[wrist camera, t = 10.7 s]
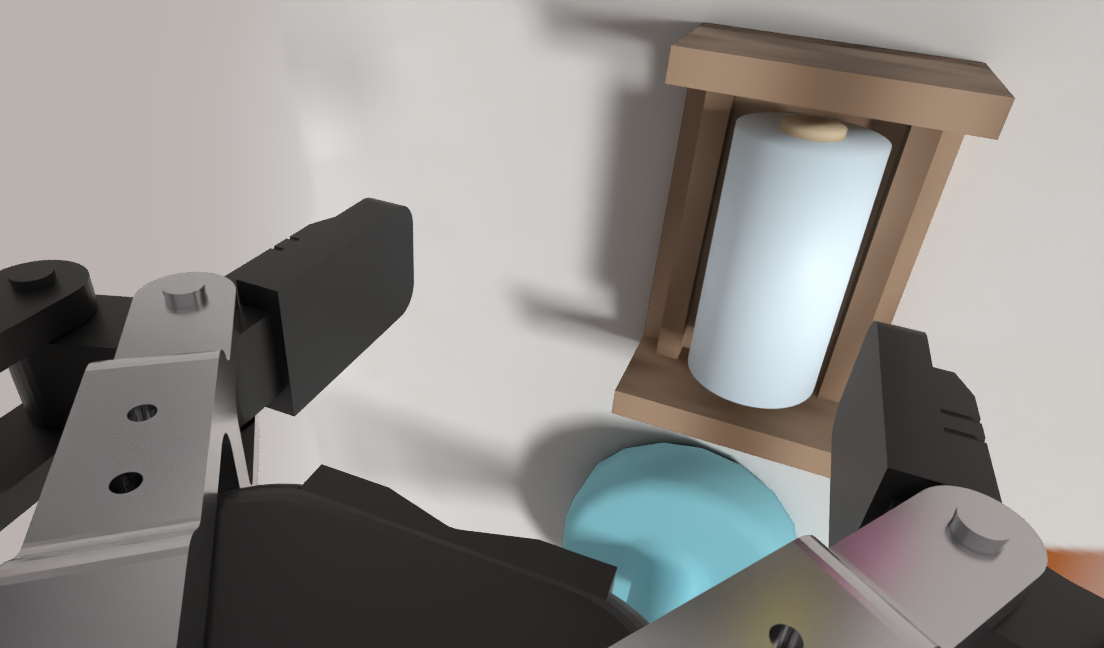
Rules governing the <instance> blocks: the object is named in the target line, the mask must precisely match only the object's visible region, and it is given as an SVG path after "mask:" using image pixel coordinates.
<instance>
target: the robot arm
mask: <svg viewBox="0 0 1104 648" xmlns="http://www.w3.org/2000/svg"><path fill="white" fill-rule="evenodd" d="M413 286H414V266H413V219H412V214H411V212H410V210H409V209H408V208H407V207H406V206H402V205H398V204H394V203H390V202H385V201H381V200H377V199H373V198H365V199H363V200H362V201H360V202H358V203H357V204H355V205H354V206H352V207H350V208H349V209H347V210H346V211H344V212H342V213H341V214H339V215H338V216H336V217H333V218H330V219H326V220H323V221H320V222H316V223H313V224H310V225H308V226H306V227H305V228H303V229H301V230H300V231H298V232H297V233H295V234H293V235H292V236H290V239H285V240H284V241H282V242H280V243H278V244H277V245H275V246H274V249H271V248H270V249H269V250H267V251H265V252H264V253H262V254H261V255H259V256H257V257H256V258H254V259H252V260H251V261H249V262H247V263H246V264H244V265H242V266H241V267H239V268H237V269H236V270H234V271H233V272H231V273H229V274H228V275H226V276H221V275H218V274H214V273H207V272H186V273H178V274H173V275H169V276H165V277H162V278H159V279H156V280H154V281H152V282H150V283H148V284H146V285H144V286H143V287H142V288H140V289H139V290H138V291H137V292H136V294H135V295H134V297H121V296H107V295H95V292H94V289H93V286H92V282H91V279H90V275H89V272H88V270H87V269H86V268H85V267H84V266H82V265H80V264H77V263H74V262H70V261H63V260H44V261H43V260H42V261H34V262H28V263H23V264H19V265H15V266H11V267H9V268H5V269H3V270H1V271H0V372H2V371H3V370H5V369H7V368H9V370H10V373H11V375H12V378H13V381H14V383H15V386H16V388H17V391H18V393H19V395H20V398H21V400H22V404H21V405H19V406H18V407H16V408H15V409H13V410H12V411H10V412H9V413H7V414H6V415H4V416H3V417H1V418H0V531H1V530H3V529H4V528H5V527H6V526H7V525H9V524H10V523H11V522H13V521H14V520H15V519H16V518H17V517H19V516H20V515H21V514H22V513H24V512H25V511H26V510H27V509H29V508H30V507H31V506H32V505H34V504H35V503H36V502H37V501H38V500H39V501H38V503H37V507H36V509H35V512H34V515H33V518H32V520H31V523H30V526H29V529H28V531H27V534H26V537H25V540H24V543H23V545H22V547H21V550H20V552H19V553H18V554H17V556H16V557H15V558H13V559H12V560H9V561H6V562H4V563H3V564H1V565H0V648H1104V599H1103V598H1101V597H1099V596H1097V595H1096V594H1094V593H1092V592H1090V591H1088V590H1086V589H1084V588H1082V587H1080V586H1078V585H1076V584H1074V583H1073V582H1071V581H1069V580H1067V579H1065V578H1064V577H1062V576H1060V575H1059V574H1057V573H1056V572H1054V571H1053V570H1051V569H1050V568H1048V567H1047V553H1046V549H1045V547H1044V544H1043V542H1042V540H1041V539H1040V537H1039V536H1038V534H1037V533H1036V532H1035V530H1034V529H1033V528H1032V527H1031V526H1030V525H1029V524H1028V523H1027V522H1026V521H1025V520H1024V519H1023V518H1022V517H1021V516H1020V515H1018V514H1017V513H1016V512H1014V511H1013V510H1012V509H1010V508H1009V507H1007V506H1005V505H1004V504H1002V501H1001V497H1000V493H999V489H998V485H997V482H996V478H995V474H994V470H993V466H992V462H991V458H990V454H989V450H988V446H987V443H984V441H985V435H984V431H983V427H982V424H980V415H979V411H978V407H977V404H976V400H975V396H974V395H973V394H972V393H971V391H970V390H969V389H968V388H967V387H966V386H965V384H964V383H963V382H962V381H961V380H960V379H959V377H958V376H957V375H956V374H955V373H954V372H950V371H946V370H942V369H938V368H934V367H933V366H932V361H931V355H930V350H929V344H928V339H927V335H926V333H925V332H921V331H917V330H913V329H908V328H904V327H900V326H896V325H892V324H888V323H883V322H879V321H873V322H872V324H871V325H870V327H869V329H868V331H867V334H866V336H865V338H864V341H863V343H862V346H861V349H860V351H859V354H858V356H857V359H856V361H855V364H854V366H853V369H852V371H851V374H850V376H849V379H848V382H847V384H846V387H845V389H844V392H843V394H842V397H841V399H840V402H839V405H838V408H837V412H836V416H835V420H834V424H833V430H832V443H831V479H830V515H829V548H827V547H826V546H825V545H824V544H822V543H821V542H820V541H819V540H818V539H817V538H816V537H814V536H812V535H806V536H802V537H799V538H797V539H795V540H793V541H791V542H790V543H788V544H786V545H784V546H783V547H781V548H779V549H778V550H776V551H774V552H772V553H771V554H769V555H767V556H765V557H764V558H762V559H760V560H758V561H757V562H755V563H753V564H752V565H750V566H748V567H746V568H745V569H743V570H741V571H739V572H738V573H736V574H734V575H733V576H731V577H729V578H727V579H726V580H724V581H722V582H720V583H719V584H717V585H715V586H714V587H712V588H710V589H708V590H707V591H705V592H703V593H701V594H700V595H698V596H696V597H694V598H693V599H691V600H689V601H688V602H686V603H684V604H682V605H681V606H679V607H677V608H675V609H674V610H672V611H670V612H669V613H667V614H665V615H663V616H662V617H660V618H658V619H656V620H655V621H653V622H651V623H649V622H648V621H647V620H646V619H645V618H644V617H643V616H642V615H641V614H640V613H639V612H637V611H636V610H635V609H634V608H632V607H631V606H630V605H629V604H627V603H626V602H625V601H623V600H622V599H620V598H619V597H617V596H616V595H614V594H612V591H613V586H614V581H615V577H616V572H617V567H616V566H613V565H610V564H607V563H605V562H602V561H599V560H596V559H593V558H590V557H587V556H584V555H582V554H579V553H576V552H573V551H570V550H567V549H564V548H561V547H558V546H556V545H553V544H550V543H547V542H544V541H541V540H537V539H529V538H521V537H514V536H506V535H498V534H490V533H482V532H474V531H466V530H459V529H454V528H452V527H449V526H447V525H445V524H444V523H442V522H441V521H439V520H438V519H436V518H435V517H433V516H431V515H430V514H428V513H427V512H425V511H424V510H422V509H421V508H419V507H418V506H416V505H415V504H413V503H412V502H410V501H408V500H407V499H405V498H404V497H402V496H401V495H399V494H398V493H396V492H395V491H393V490H392V489H390V488H388V487H386V486H383V485H380V484H377V483H374V482H371V481H368V480H365V479H363V478H360V477H357V476H354V475H351V474H348V473H345V472H342V471H339V470H337V469H334V468H331V467H328V466H325V465H322V464H321V465H320V467H319V468H318V469H317V470H316V471H315V472H314V473H313V474H312V475H311V476H310V477H309V479H308V480H307V481H306V482H305V483H304V484H303V485H301V484H267V485H258V467H259V466H258V465H259V432H260V429H259V422H258V416H257V413H258V412H260V411H261V410H262V409H263V408H264V407H268V408H271V409H274V410H277V411H280V412H283V413H286V414H289V415H292V416H295V415H297V413H299V412H300V411H301V410H302V409H303V408H304V407H305V406H306V405H307V404H308V403H309V402H310V401H311V400H313V399H314V398H315V397H316V396H317V395H318V394H319V393H320V392H321V391H322V390H323V389H324V388H325V387H326V386H327V385H328V384H330V383H331V382H332V381H333V380H334V379H335V378H336V377H337V376H338V375H339V374H340V373H341V372H342V371H343V370H344V369H345V368H347V367H348V366H349V365H350V364H351V363H352V362H353V361H354V360H355V359H356V358H357V357H358V356H359V355H360V354H361V353H362V352H364V351H365V350H366V349H367V348H368V347H369V346H370V345H371V344H372V343H373V342H374V341H375V340H376V339H377V338H378V337H379V336H381V335H382V334H383V333H384V332H385V331H386V330H387V329H388V328H389V327H390V326H391V325H392V324H393V323H394V322H395V321H396V320H398V319H399V318H400V317H401V316H402V315H403V313H404V312H405V311H406V309H407V307H408V305H409V303H410V300H411V297H412V293H413Z"/></svg>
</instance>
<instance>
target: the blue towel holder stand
mask: <svg viewBox="0 0 1104 648" xmlns="http://www.w3.org/2000/svg"><path fill="white" fill-rule="evenodd" d="M795 539H796V532H795V526H794V523H793V521H792V520H791V518H790V517H789V515H788V513H787V512H786V510H785V509H784V507H783V506H782V504H781V502H780V501H779V499H778V498H777V496H776V495H775V493H774V492H773V491H772V490H770V489H769V488H768V487H767V486H766V485H764V484H763V483H762V482H761V481H760V480H758V479H757V478H756V477H755V476H753V475H752V474H751V473H750V472H749V471H747V470H746V469H745V468H744V467H742V466H741V465H739V464H737V463H735V462H733V461H731V460H728V459H726V458H724V457H722V456H719V455H717V454H715V453H713V452H710V451H708V450H706V449H704V448H699V447H692V446H685V445H678V444H671V443H656V444H650V445H643V446H637V447H630V448H624V449H623V450H621V451H619V452H617V453H616V454H614V455H612V456H610V457H609V458H607V459H605V460H603V461H601V462H600V463H598V464H597V465H596V467H595V468H594V469H593V471H592V472H591V474H590V475H589V477H588V478H587V480H586V481H585V483H584V484H583V485H582V487H581V488H580V490H579V491H578V493H577V494H576V496H575V497H574V499H573V500H572V503H571V505H570V508H569V510H568V513H567V515H566V518H565V527H564V536H563V548H564V549H567V550H570V551H573V552H576V553H579V554H582V555H584V556H587V557H590V558H593V559H596V560H599V561H602V562H605V563H607V564H610V565H613V566H616V567H617V572H616V577H615V581H614V586H613V591H612V594H614V595H616V596H617V597H619V598H620V599H622V600H623V601H625V602H626V603H627V604H629V605H630V606H631V607H632V608H634V609H635V610H636V611H637V612H639V613H640V614H641V615H642V616H643V617H644V618H645V619H646V620H647V621H648V622H649V623H651V622H653V621H655V620H656V619H658V618H660V617H662V616H663V615H665V614H667V613H669V612H670V611H672V610H674V609H675V608H677V607H679V606H681V605H682V604H684V603H686V602H688V601H689V600H691V599H693V598H694V597H696V596H698V595H700V594H701V593H703V592H705V591H707V590H708V589H710V588H712V587H714V586H715V585H717V584H719V583H720V582H722V581H724V580H726V579H727V578H729V577H731V576H733V575H734V574H736V573H738V572H739V571H741V570H743V569H745V568H746V567H748V566H750V565H752V564H753V563H755V562H757V561H758V560H760V559H762V558H764V557H765V556H767V555H769V554H771V553H772V552H774V551H776V550H778V549H779V548H781V547H783V546H784V545H786V544H788V543H790V542H791V541H793V540H795Z"/></svg>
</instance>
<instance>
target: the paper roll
mask: <svg viewBox="0 0 1104 648" xmlns="http://www.w3.org/2000/svg"><path fill="white" fill-rule="evenodd" d="M891 148H892V144H891V142H890V141H889V140H888V139H887V138H885V137H884V136H882V135H881V134H879V133H877V132H875V131H873V130H870V129H868V128H865V127H862V126H859V125H856V124H853V123H849V122H845V121H841V120H837V119H833V118H827V117H822V116H816V115H809V114H801V113H789V112H760V113H752V114H747V115H744V116H741V117H740V118H738V119H737V120H736V124H735V129H734V134H733V139H732V144H731V149H730V154H729V159H728V164H727V168H726V173H725V178H724V183H723V188H722V193H721V198H720V203H719V208H718V213H717V218H716V223H715V228H714V233H713V238H712V242H711V247H710V252H709V257H708V262H707V267H706V272H705V277H704V282H703V287H702V292H701V297H700V302H699V307H698V312H697V316H696V321H695V326H694V331H693V336H692V341H691V346H690V351H689V356H688V366H689V369H690V371H691V373H692V374H693V376H694V377H695V378H696V380H697V381H698V382H699V383H700V384H702V385H703V386H704V387H705V388H707V389H708V390H710V391H711V392H713V393H715V394H716V395H718V396H720V397H722V398H725V399H727V400H729V401H732V402H735V403H738V404H742V405H746V406H750V407H757V408H767V409H778V408H787V407H791V406H795V405H797V404H800V403H802V402H804V401H805V400H806V399H808V398H809V397H810V396H811V394H812V393H813V390H814V388H815V384H816V381H817V378H818V375H819V372H820V369H821V366H822V363H823V360H824V356H825V353H826V350H827V347H828V344H829V341H830V338H831V335H832V332H833V328H834V325H835V322H836V319H837V316H838V313H839V310H840V307H841V304H842V300H843V297H844V294H845V291H846V288H847V285H848V282H849V279H850V276H851V272H852V269H853V266H854V263H855V260H856V257H857V254H858V251H859V248H860V244H861V241H862V238H863V235H864V232H865V229H866V226H867V223H868V220H869V216H870V213H871V210H872V207H873V204H874V201H875V198H876V195H877V192H878V188H879V185H880V182H881V179H882V176H883V173H884V170H885V167H886V164H887V160H888V157H889V154H890V151H891Z"/></svg>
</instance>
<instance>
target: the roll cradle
mask: <svg viewBox="0 0 1104 648" xmlns="http://www.w3.org/2000/svg"><path fill="white" fill-rule="evenodd" d="M665 84H670V85H676V86H681V87H687V88H688V90H687V96H686V101H685V107H684V112H683V118H682V124H681V129H680V135H679V140H678V146H677V152H676V157H675V163H674V168H673V174H672V179H671V185H670V191H669V196H668V202H667V207H666V213H665V219H664V224H663V230H662V235H661V241H660V247H659V252H658V258H657V263H656V269H655V274H654V280H653V286H652V291H651V297H650V302H649V308H648V314H647V319H646V325H645V330H644V336H643V338H642V340H641V342H640V344H639V346H638V348H637V349H636V351H635V353H634V355H633V357H632V359H631V361H630V363H629V365H628V367H627V369H626V371H625V372H624V374H623V376H622V378H621V380H620V382H619V384H618V386H617V388H616V390H615V394H614V400H613V407H612V413H613V414H617V415H620V416H623V417H627V418H630V419H634V420H637V421H640V422H644V423H647V424H650V425H654V426H657V427H660V428H664V429H667V430H670V431H674V432H677V433H681V434H684V435H687V436H691V437H694V438H697V439H701V440H704V441H707V442H711V443H714V444H717V445H721V446H724V447H727V448H731V449H734V450H738V451H741V452H744V453H748V454H751V455H754V456H758V457H761V458H764V459H768V460H771V461H774V462H778V463H781V464H785V465H788V466H791V467H795V468H798V469H801V470H805V471H808V472H811V473H815V474H818V475H821V476H825V477H828V478H831V443H832V430H833V424H834V420H835V416H836V412H837V408H838V405H839V402H840V399H841V397H842V394H843V392H844V389H845V387H846V384H847V382H848V379H849V376H850V374H851V371H852V369H853V366H854V364H855V361H856V359H857V356H858V354H859V351H860V349H861V346H862V343H863V341H864V338H865V336H866V334H867V331H868V329H869V327H870V325H871V324H872V322H873V321H879V322H883V323H888V324H891V322H892V320H893V317H894V315H895V312H896V310H897V307H898V304H899V302H900V299H901V297H902V294H903V292H904V289H905V286H906V284H907V281H908V279H909V276H910V274H911V271H912V269H913V266H914V263H915V261H916V258H917V256H918V253H919V251H920V248H921V245H922V243H923V240H924V238H925V235H926V233H927V230H928V227H929V225H930V222H931V220H932V217H933V215H934V212H935V209H936V207H937V204H938V202H939V199H940V197H941V194H942V191H943V189H944V186H945V184H946V181H947V179H948V176H949V174H950V171H951V168H952V166H953V163H954V161H955V158H956V156H957V153H958V150H959V148H960V145H961V143H962V140H963V138H964V135H965V134H966V135H972V136H978V137H984V138H990V139H996V140H998V138H999V135H1000V133H1001V131H1002V128H1003V126H1004V123H1005V121H1006V118H1007V116H1008V114H1009V111H1010V109H1011V106H1012V104H1013V102H1014V99H1015V98H1014V97H1013V95H1012V94H1011V93H1010V92H1009V91H1008V89H1007V88H1006V87H1005V86H1004V85H1003V83H1002V82H1001V81H1000V80H999V79H998V77H997V76H996V75H995V74H994V73H993V72H992V70H991V69H990V68H989V67H988V66H987V64H986V63H982V62H975V61H968V60H961V59H954V58H947V57H940V56H934V55H927V54H920V53H913V52H906V51H899V50H892V49H885V48H878V47H871V46H864V45H857V44H850V43H843V42H836V41H829V40H822V39H815V38H808V37H801V36H794V35H787V34H780V33H773V32H766V31H759V30H753V29H746V28H739V27H732V26H725V25H718V24H711V23H703V24H702V25H700V26H699V27H697V28H696V29H694V30H693V31H691V32H690V33H688V34H687V35H686V36H684V37H683V38H681V39H680V40H678V41H677V42H675V43H674V44H672V45H671V49H670V55H669V61H668V67H667V73H666V79H665ZM760 112H789V113H801V114H809V115H816V116H822V117H827V118H833V119H837V120H841V121H845V122H849V123H853V124H856V125H859V126H862V127H865V128H868V129H870V130H873V131H875V132H877V133H879V134H881V135H882V136H884V137H885V138H887V139H888V140H889V141H890V142H891V144H892V148H891V151H890V154H889V157H888V160H887V164H886V167H885V170H884V173H883V176H882V179H881V182H880V185H879V188H878V192H877V195H876V198H875V201H874V204H873V207H872V210H871V213H870V216H869V220H868V223H867V226H866V229H865V232H864V235H863V238H862V241H861V244H860V248H859V251H858V254H857V257H856V260H855V263H854V266H853V269H852V272H851V276H850V279H849V282H848V285H847V288H846V291H845V294H844V297H843V300H842V304H841V307H840V310H839V313H838V316H837V319H836V322H835V325H834V328H833V332H832V335H831V338H830V341H829V344H828V347H827V350H826V353H825V356H824V360H823V363H822V366H821V369H820V372H819V375H818V378H817V381H816V384H815V388H814V390H813V393H812V394H811V396H810V397H809V398H808V399H806V400H805V401H804V402H802V403H800V404H797V405H795V406H791V407H787V408H778V409H767V408H757V407H750V406H746V405H742V404H738V403H735V402H732V401H729V400H727V399H725V398H722V397H720V396H718V395H716V394H715V393H713V392H711V391H710V390H708V389H707V388H705V387H704V386H703V385H702V384H700V383H699V382H698V381H697V380H696V378H695V377H694V376H693V374H692V373H691V371H690V369H689V366H688V356H689V351H690V346H691V341H692V336H693V331H694V326H695V321H696V316H697V312H698V307H699V302H700V297H701V292H702V287H703V282H704V277H705V272H706V267H707V262H708V257H709V252H710V247H711V242H712V238H713V233H714V228H715V223H716V218H717V213H718V208H719V203H720V198H721V193H722V188H723V183H724V178H725V173H726V168H727V164H728V159H729V154H730V149H731V144H732V139H733V134H734V129H735V124H736V120H737V119H738V118H740V117H741V116H744V115H747V114H752V113H760Z"/></svg>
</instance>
